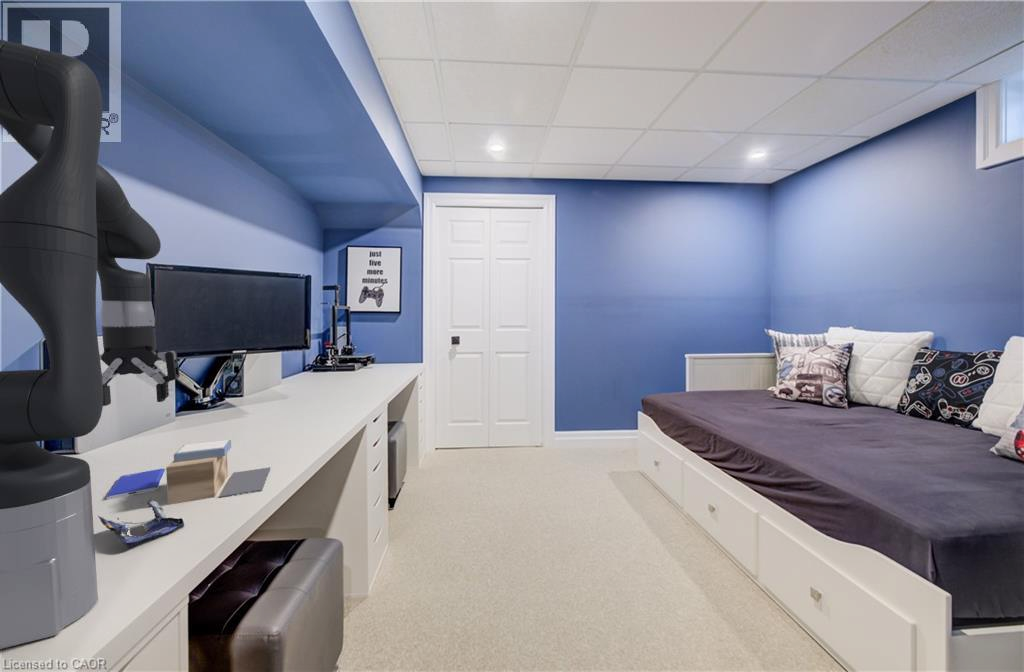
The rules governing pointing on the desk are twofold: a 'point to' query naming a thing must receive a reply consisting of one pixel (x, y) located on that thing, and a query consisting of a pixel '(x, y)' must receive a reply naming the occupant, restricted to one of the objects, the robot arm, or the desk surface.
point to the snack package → (146, 526)
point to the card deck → (202, 451)
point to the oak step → (195, 479)
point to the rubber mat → (245, 482)
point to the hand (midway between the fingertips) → (134, 403)
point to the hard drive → (136, 483)
